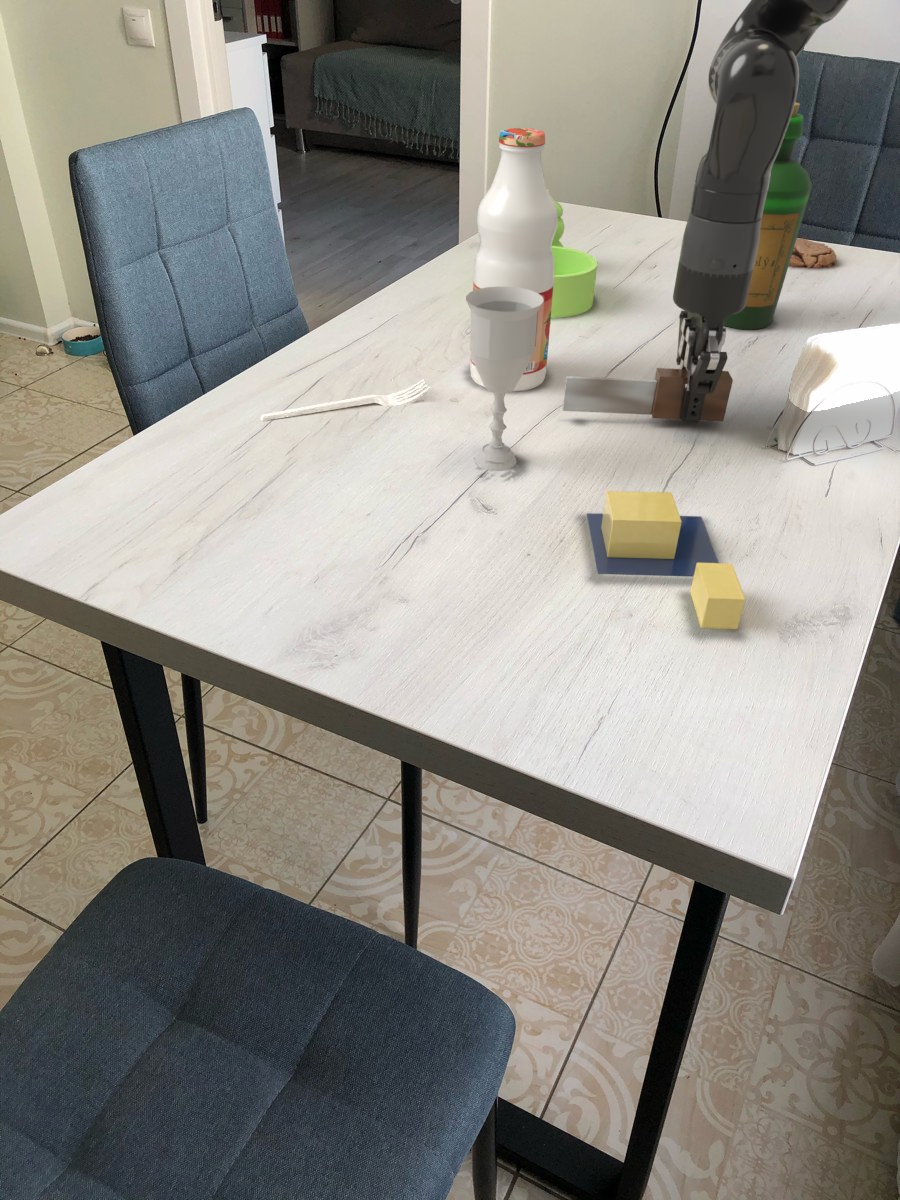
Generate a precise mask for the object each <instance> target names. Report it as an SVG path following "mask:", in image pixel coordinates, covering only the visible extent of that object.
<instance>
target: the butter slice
mask: <svg viewBox="0 0 900 1200" xmlns="http://www.w3.org/2000/svg"><path fill="white" fill-rule="evenodd" d="M689 593H690V597H691V600H692V603H693V606H694V609H695V612H696V613H695V614H696V616H697V620H698V623H699V627H700V628H701V629H715V630H717V629H718V630H738V629H739V625H740V622H741V618H742V614H743V610H744V606H745V603H746V597H745V594H744V592H743V589H742V586H741V584H740V581H739V578H738V574H737V572H736V569H735V568H734V565H733V563H723V562H721V563H720V562H718V563H697V564H696V568H695V573H694V577H692V582H691V587H690V591H689Z"/></svg>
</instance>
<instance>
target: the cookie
mask: <svg viewBox="0 0 900 1200" xmlns="http://www.w3.org/2000/svg"><path fill="white" fill-rule="evenodd" d="M836 264H837V254H836V252H835V250H834V249H833V248H832V247H829V246H828V245H826V244H825V243H822V242H817V241H812V240H809V239H806V238H802V237H801V238H797V239H796V242H795V246H794V249H793V252H792V256H791V259H790V263H789V266H788V267H791V268H807V269H815V270H816V269H818V270H819V269H822V268H823V269H824V268H825V269H826V268H832V266H836Z"/></svg>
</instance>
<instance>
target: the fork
mask: <svg viewBox="0 0 900 1200" xmlns="http://www.w3.org/2000/svg"><path fill="white" fill-rule="evenodd" d="M430 389H431V386H429V384H428V383H427V382H426V381H425V379H422V380H420V381H418V382H417V383H415V384H413V385H411V386H410V387H407V388H406V389H403V390H400V391H397V392H393V393H390V394H368V395H362V396H358V397H352V398H346V399H340V400H335V401H328V402H324V403H318V404H313V405H307V406H302V407H297V408H290V409H286V410H280V411H274V412H268V413H263V414H261V415H260V421H261V422H265V421H272V420H276V419H277V420H278V419H283V418H290V417H295V416H296V417H297V416H301V415H308V414H313V413H320V412H326V411H333V410H339V409H346V408H351V407H357V406H363V405H369V404H378V405H380V406H383V407H396V406H403V405H411V404H412V403H413V402H415V401H417V400H419V399H420V398H421V397H422V396H423V395H424V394H426V393H427V392H428V391H429V390H430Z"/></svg>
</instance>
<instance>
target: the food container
mask: <svg viewBox="0 0 900 1200" xmlns="http://www.w3.org/2000/svg"><path fill="white" fill-rule="evenodd" d="M547 190H548V192H549V193H550V189H548V188H547ZM552 199H553V201H554V203H555V205H556V208H557V212H558V224H557V229H556V233H555V235H554V238H553V241H552V246H551V249H552V253H553V256H554V263H555V272H554V286H553V297H552V308H551V319H558V318H559V319H560V318H569V317H573V316H574V317H575V316H578V315H582V314H584V313H586V312H588V311H589V310H591V308H592V307H593V305H594V297H595V288H596V281H597V280H596V279H597V272H598V271H597V270H598V261H597V259H596V258H595V257H594V256H592V255H591V254H589V253H586V252H584V251H581V250H578V249H576V248H571V247H565V246H564V245H563V243H562V242H561V241H560V240H561V238H562V237H563V235H564V233H565V222H564V219H563V218H561V217H562V216H563V214H564V208H563V207H562V205H561V203H559V202H558V201H557V200H555V199H554V198H552Z"/></svg>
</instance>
